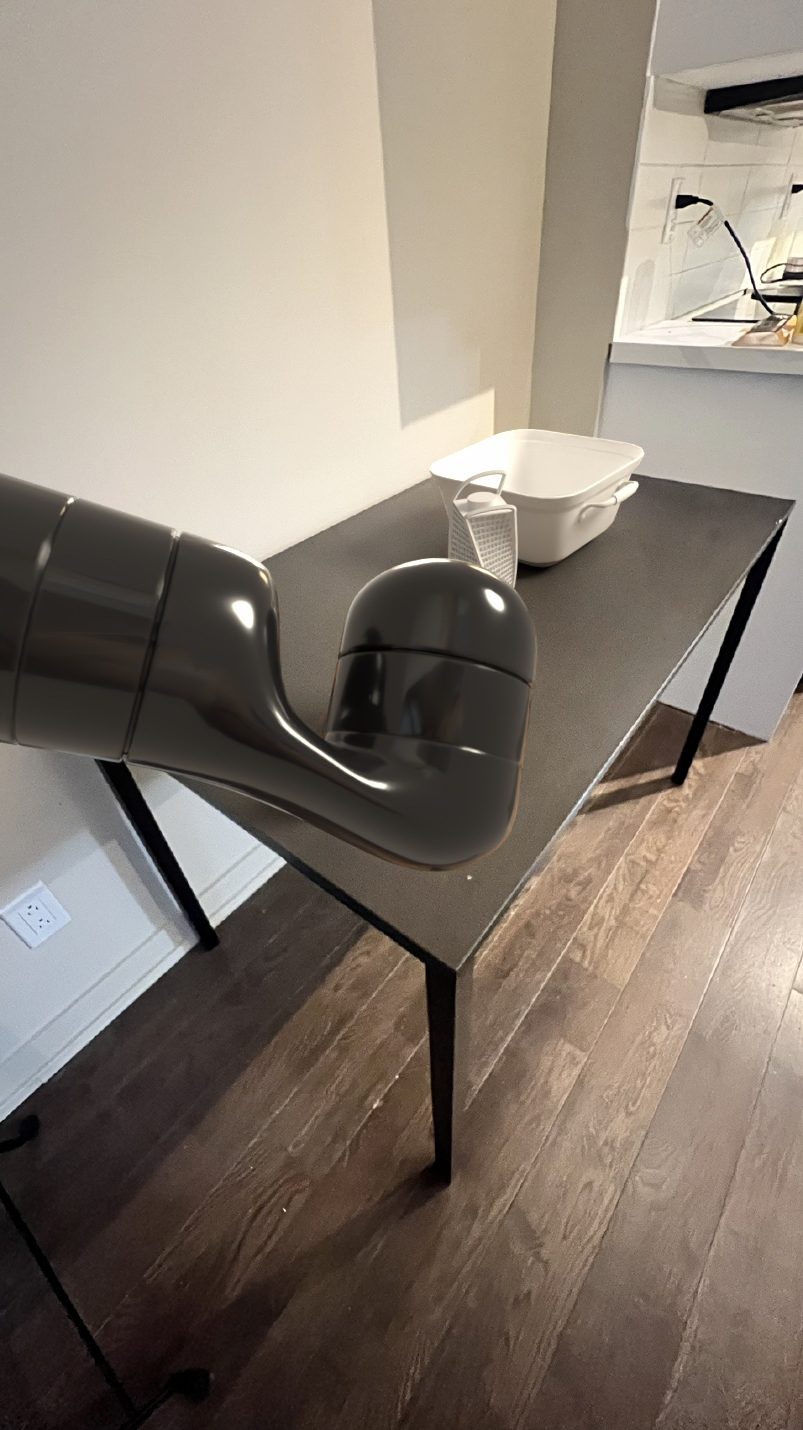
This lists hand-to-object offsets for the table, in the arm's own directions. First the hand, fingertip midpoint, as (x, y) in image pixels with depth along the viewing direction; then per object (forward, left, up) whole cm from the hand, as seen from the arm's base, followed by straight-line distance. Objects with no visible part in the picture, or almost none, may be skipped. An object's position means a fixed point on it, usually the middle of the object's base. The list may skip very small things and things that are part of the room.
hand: (350, 766), depth 54 cm
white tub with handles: (+23, +70, -12) cm, 74 cm away
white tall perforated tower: (+12, +23, -12) cm, 28 cm away
